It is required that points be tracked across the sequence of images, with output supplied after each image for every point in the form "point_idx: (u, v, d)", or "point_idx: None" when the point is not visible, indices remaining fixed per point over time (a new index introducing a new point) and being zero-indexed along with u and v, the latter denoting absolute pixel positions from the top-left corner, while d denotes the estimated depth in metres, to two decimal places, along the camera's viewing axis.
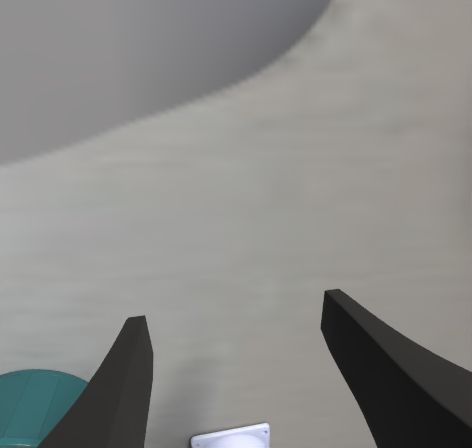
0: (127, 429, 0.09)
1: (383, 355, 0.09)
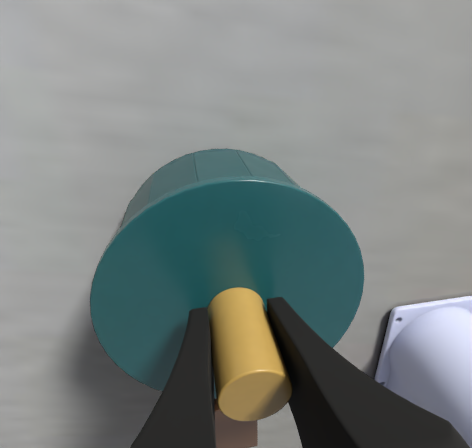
0: (212, 414, 0.09)
1: (305, 368, 0.09)
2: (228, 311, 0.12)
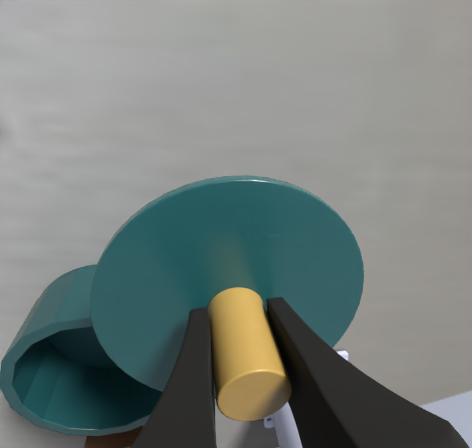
0: None
1: (305, 368, 0.09)
2: (228, 311, 0.12)
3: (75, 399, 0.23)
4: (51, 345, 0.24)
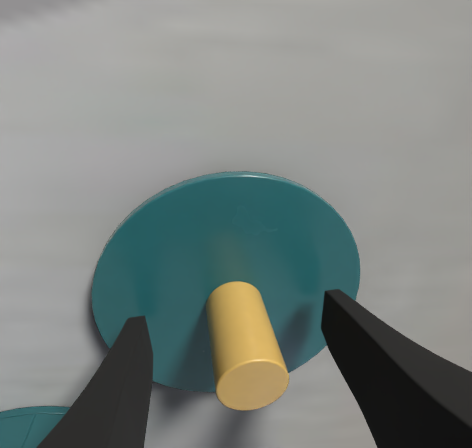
0: (127, 429, 0.09)
1: (383, 355, 0.09)
2: (227, 304, 0.12)
3: None
4: None
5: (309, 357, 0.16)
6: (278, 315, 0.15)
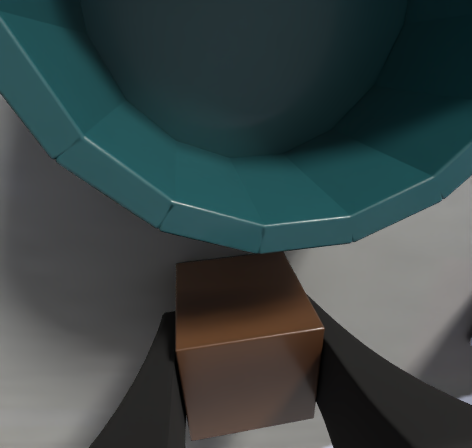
0: (176, 420, 0.09)
1: (338, 363, 0.09)
2: None
3: (170, 162, 0.08)
4: (90, 39, 0.09)
5: None
6: None
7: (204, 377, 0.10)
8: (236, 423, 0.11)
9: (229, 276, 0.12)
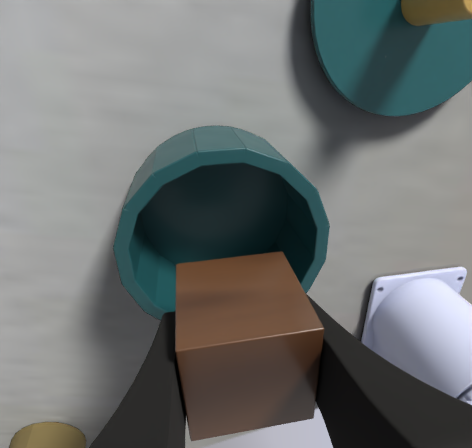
0: (176, 420, 0.09)
1: (338, 363, 0.09)
2: None
3: None
4: (146, 235, 0.20)
5: (464, 84, 0.19)
6: (453, 21, 0.17)
7: (203, 377, 0.10)
8: (235, 423, 0.11)
9: (229, 276, 0.12)
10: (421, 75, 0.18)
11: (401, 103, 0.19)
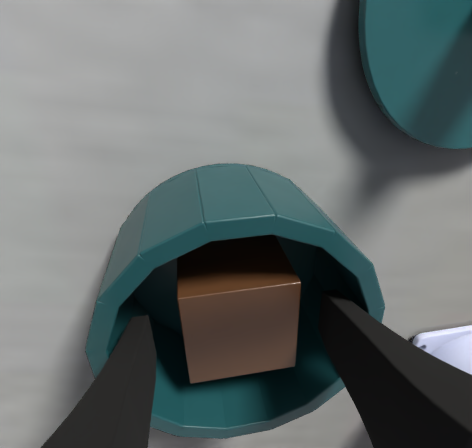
0: (132, 428, 0.09)
1: (379, 356, 0.09)
2: None
3: (180, 381, 0.15)
4: (136, 300, 0.16)
5: None
6: None
7: (200, 324, 0.12)
8: (227, 368, 0.13)
9: (223, 245, 0.14)
10: None
11: (470, 132, 0.14)
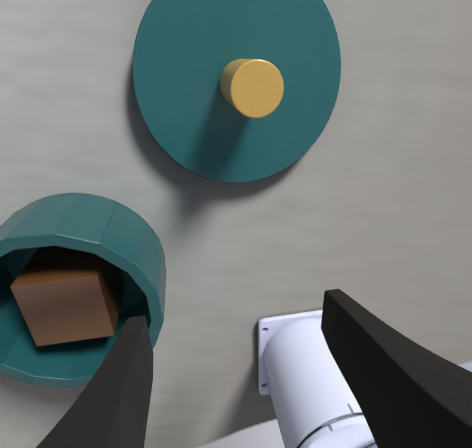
0: (127, 429, 0.09)
1: (383, 355, 0.09)
2: (236, 61, 0.16)
3: (43, 348, 0.21)
4: None
5: (301, 153, 0.20)
6: None
7: (31, 303, 0.18)
8: (61, 335, 0.19)
9: (67, 251, 0.20)
10: (256, 147, 0.19)
11: (242, 171, 0.20)
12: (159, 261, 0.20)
